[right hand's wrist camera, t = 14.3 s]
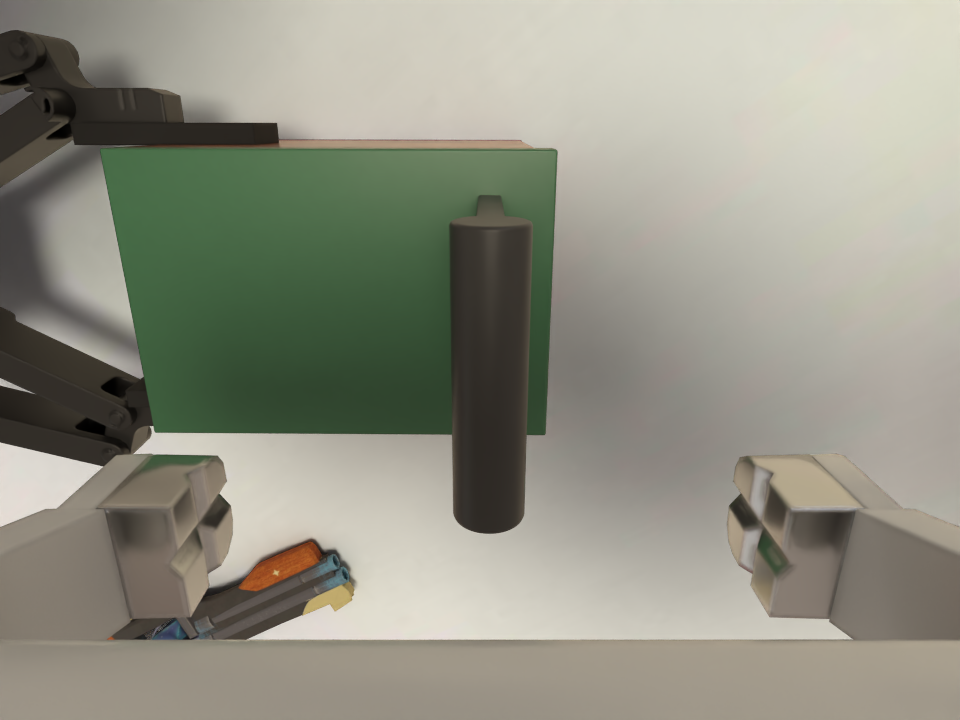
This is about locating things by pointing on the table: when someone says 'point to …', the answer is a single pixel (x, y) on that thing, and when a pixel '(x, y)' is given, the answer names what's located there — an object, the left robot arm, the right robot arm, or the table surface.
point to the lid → (347, 297)
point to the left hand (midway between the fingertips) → (281, 269)
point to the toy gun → (257, 600)
